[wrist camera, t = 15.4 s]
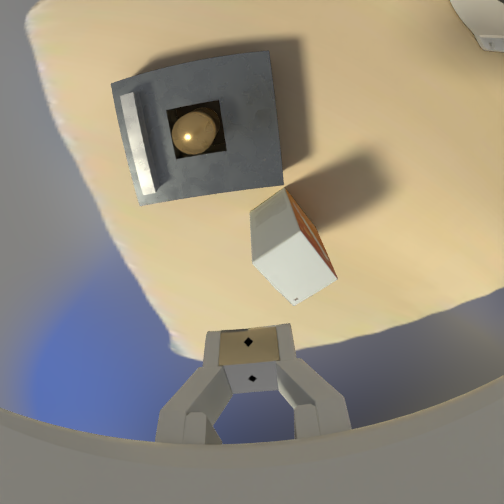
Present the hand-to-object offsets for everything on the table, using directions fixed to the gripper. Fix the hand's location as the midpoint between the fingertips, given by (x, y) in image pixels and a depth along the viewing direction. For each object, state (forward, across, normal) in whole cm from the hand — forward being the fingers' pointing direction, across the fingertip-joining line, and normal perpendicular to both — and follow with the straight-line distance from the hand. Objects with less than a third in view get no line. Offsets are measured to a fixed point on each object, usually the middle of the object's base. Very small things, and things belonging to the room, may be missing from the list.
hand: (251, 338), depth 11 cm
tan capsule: (+31, +5, -4) cm, 32 cm away
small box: (+31, -4, +11) cm, 33 cm away
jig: (+31, +5, -4) cm, 32 cm away
